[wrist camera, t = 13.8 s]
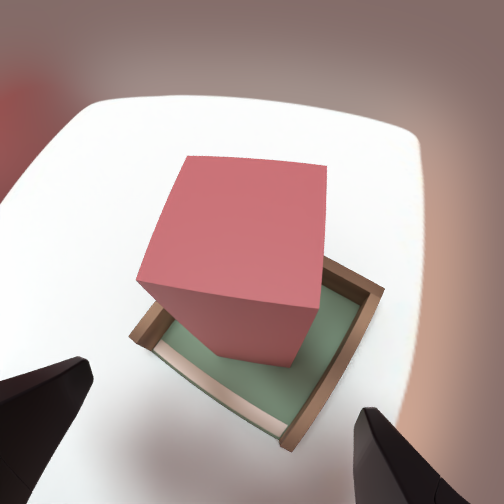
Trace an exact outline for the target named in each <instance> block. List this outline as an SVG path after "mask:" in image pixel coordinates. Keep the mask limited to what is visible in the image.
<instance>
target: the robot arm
mask: <svg viewBox="0 0 504 504" xmlns="http://www.w3.org/2000/svg"><path fill="white" fill-rule="evenodd" d="M93 379H94V378H93V374H92V371H91V367H90V364H89V361H88V360H87V359H85V358H82V357H79V356H77V357H73V358H71V359H68V360H65V361H62V362H59V363H56V364H53V365H50V366H47V367H44V368H40V369H37V370H34V371H31V372H28V373H25V374H22V375H18V376H15V377H12V378H9V379H5V380H2V381H0V504H26V503H27V501H28V500H29V498H30V496H31V494H32V491H33V490H34V488H35V486H36V484H37V482H38V480H39V479H40V477H41V475H42V473H43V471H44V470H45V468H46V466H47V464H48V463H49V461H50V459H51V457H52V456H53V454H54V452H55V450H56V449H57V447H58V445H59V444H60V442H61V440H62V439H63V437H64V435H65V434H66V432H67V430H68V429H69V427H70V426H71V424H72V422H73V421H74V419H75V417H76V416H77V414H78V412H79V410H80V408H81V406H82V404H83V402H84V400H85V398H86V396H87V394H88V392H89V390H90V388H91V386H92V384H93ZM353 476H354V487H355V500H356V504H470V503H469V502H468V501H466V500H465V499H464V498H463V497H462V496H460V495H459V494H458V493H457V492H456V491H455V490H454V489H453V488H452V487H451V486H450V485H449V484H448V483H447V482H446V481H445V480H444V479H443V478H440V475H439V474H438V473H437V472H436V471H435V470H434V469H433V468H432V467H431V466H430V464H429V463H428V462H427V461H426V460H425V459H424V458H423V457H422V456H421V455H420V454H419V453H418V452H417V451H416V450H415V449H414V448H413V446H412V445H411V444H410V443H409V442H408V441H407V440H406V439H405V438H404V437H403V436H402V435H401V434H400V433H399V432H398V431H397V429H396V428H395V427H394V426H393V425H392V424H391V423H390V422H389V421H388V420H387V419H386V418H385V416H384V415H383V414H382V413H381V412H380V411H379V410H378V409H377V408H375V407H364V408H362V410H361V412H360V414H359V416H358V419H357V421H356V423H355V426H354V457H353Z"/></svg>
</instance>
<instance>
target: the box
mask: <svg viewBox="0 0 504 504" xmlns="http://www.w3.org/2000/svg"><path fill="white" fill-rule="evenodd" d="M384 290H385V288H383V287H381V286H379V285H377V284H376V283H374V282H372V281H370V280H368V279H366V278H365V277H363V276H361V275H359V274H357V273H355V272H354V271H352V270H350V269H348V268H346V267H344V266H342V265H341V264H339V263H337V262H335V261H333V260H331V259H329V258H327V257H325V256H323V270H322V283H321V294H320V305H319V310H318V312H317V314H316V316H315V319H314V321H313V323H312V325H311V327H310V329H309V331H308V333H307V335H306V337H305V339H304V341H303V343H302V345H301V347H300V349H299V351H298V353H297V355H296V357H295V359H294V360H293V362H292V364H291V366H290V368H286V367H279V366H272V365H265V364H259V363H252V362H246V361H241V360H235V359H230V358H224V357H219V356H217V355H215V354H214V353H213V352H212V351H211V350H210V349H208V348H207V347H206V346H205V345H204V344H203V343H202V342H200V341H199V340H198V339H197V338H196V337H195V336H194V335H192V334H191V333H190V332H189V331H188V330H187V329H186V328H185V327H184V326H183V325H181V324H180V323H179V322H178V321H177V320H176V319H175V318H174V317H173V316H172V315H171V314H170V313H169V312H168V311H167V310H165V309H164V308H163V307H162V306H161V305H160V304H159V303H158V302H157V301H155V302H154V304H153V305H152V306H151V307H150V309H149V310H148V311H147V313H146V314H145V315H144V317H143V318H142V319H141V320H140V322H139V323H138V324H137V326H136V327H135V328H134V330H133V331H132V332H131V334H130V335H129V336H128V337H129V338H131V339H132V340H133V341H134V342H135V343H136V344H138V345H140V346H142V347H144V348H146V349H148V350H150V351H152V352H153V353H154V354H155V355H156V356H158V357H159V358H160V359H161V360H162V361H164V362H165V363H166V364H167V365H169V366H170V367H171V368H172V369H174V370H175V371H176V372H177V373H179V374H180V375H181V376H183V377H184V378H185V379H186V380H188V381H189V382H190V383H192V384H193V385H194V386H196V387H197V388H199V389H200V390H201V391H203V392H204V393H205V394H207V395H208V396H210V397H211V398H213V399H214V400H215V401H217V402H218V403H220V404H221V405H223V406H224V407H226V408H227V409H229V410H230V411H232V412H233V413H235V414H236V415H238V416H239V417H241V418H243V419H244V420H246V421H247V422H249V423H250V424H252V425H254V426H255V427H257V428H259V429H260V430H262V431H264V432H265V433H267V434H269V435H271V436H272V437H274V438H276V439H278V440H279V444H280V447H282V448H284V449H286V450H288V451H290V452H292V451H293V450H294V449H295V447H296V446H297V444H298V443H299V442H300V440H301V439H302V437H303V436H304V435H305V433H306V432H307V430H308V429H309V427H310V426H311V424H312V423H313V421H314V420H315V418H316V417H317V415H318V414H319V412H320V411H321V409H322V407H323V406H324V404H325V403H326V401H327V400H328V398H329V396H330V395H331V393H332V391H333V390H334V388H335V386H336V385H337V383H338V381H339V380H340V378H341V376H342V374H343V373H344V371H345V369H346V367H347V365H348V364H349V362H350V360H351V358H352V356H353V354H354V352H355V351H356V349H357V347H358V345H359V343H360V341H361V339H362V337H363V335H364V333H365V331H366V329H367V327H368V325H369V323H370V321H371V319H372V317H373V314H374V312H375V310H376V308H377V306H378V304H379V301H380V299H381V297H382V295H383V292H384Z"/></svg>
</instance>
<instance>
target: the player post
mask: <svg viewBox="0 0 504 504" xmlns="http://www.w3.org/2000/svg"><path fill="white" fill-rule="evenodd" d="M326 186H327V166H323V165H315V164H306V163H297V162H287V161H277V160H265V159H251V158H235V157H213V156H187V157H186V160H185V162H184V164H183V166H182V168H181V170H180V172H179V174H178V176H177V179H176V181H175V183H174V185H173V187H172V190H171V192H170V194H169V196H168V199H167V201H166V203H165V206H164V208H163V210H162V213H161V215H160V218H159V220H158V222H157V225H156V227H155V230H154V232H153V235H152V237H151V240H150V243H149V245H148V248H147V250H146V253H145V256H144V258H143V261H142V264H141V267H140V269H139V272H138V275H137V278H136V281H137V282H138V283H139V284H140V285H141V286H142V287H143V288H144V289H145V290H146V291H147V292H148V293H149V294H150V295H151V296H152V297H153V298H154V299H155V300H156V301H157V302H158V303H159V304H160V305H161V306H162V307H163V308H164V309H165V310H167V311H168V312H169V313H170V314H171V315H172V316H173V317H174V318H175V319H176V320H177V321H178V322H179V323H180V324H181V325H183V326H184V327H185V328H186V329H187V330H188V331H189V332H190V333H191V334H192V335H194V336H195V337H196V338H197V339H198V340H199V341H200V342H202V343H203V344H204V345H205V346H206V347H207V348H208V349H210V350H211V351H212V352H213V353H214V354H215V355H217V356H219V357H224V358H230V359H235V360H241V361H246V362H252V363H259V364H265V365H272V366H279V367H286V368H290V366H291V364H292V362H293V360H294V359H295V357H296V355H297V353H298V351H299V349H300V347H301V345H302V343H303V341H304V339H305V337H306V335H307V333H308V331H309V329H310V327H311V325H312V323H313V321H314V319H315V316H316V314H317V312H318V310H319V305H320V294H321V283H322V270H323V256H324V239H325V218H326Z"/></svg>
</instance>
